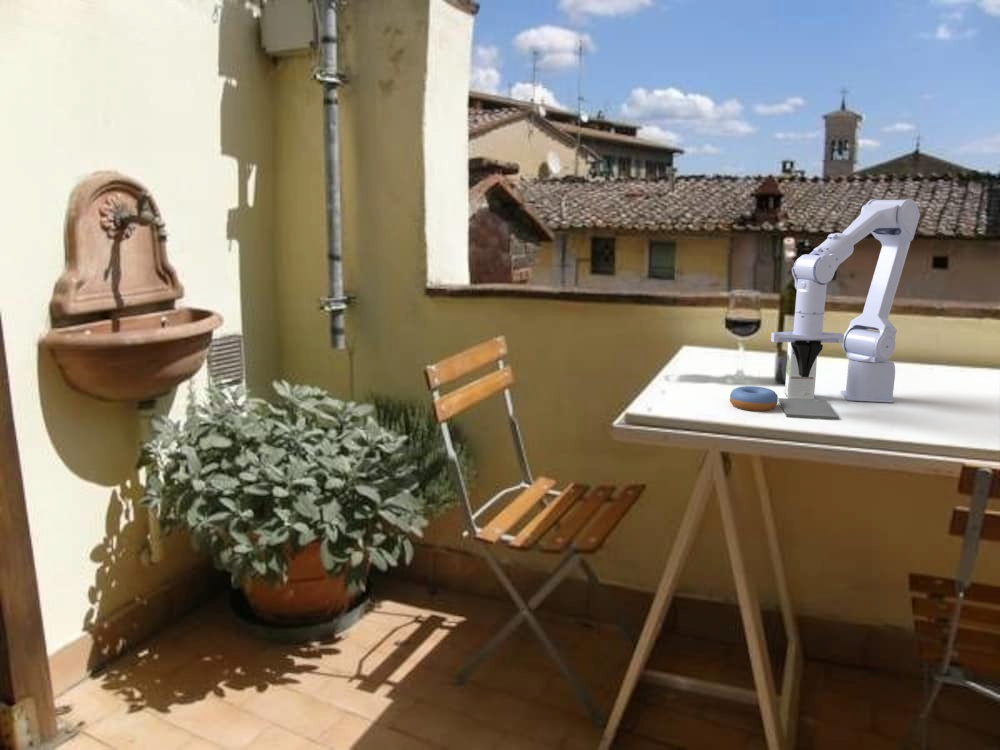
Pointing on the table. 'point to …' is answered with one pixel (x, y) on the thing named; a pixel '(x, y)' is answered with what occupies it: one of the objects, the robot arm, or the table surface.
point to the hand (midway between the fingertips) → (803, 375)
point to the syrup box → (799, 378)
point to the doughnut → (753, 398)
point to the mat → (807, 408)
